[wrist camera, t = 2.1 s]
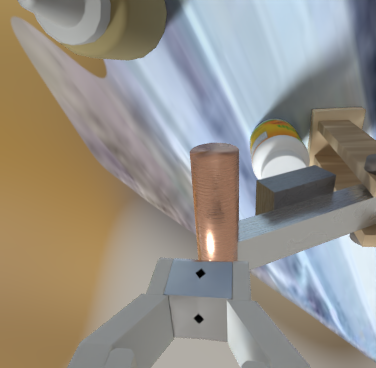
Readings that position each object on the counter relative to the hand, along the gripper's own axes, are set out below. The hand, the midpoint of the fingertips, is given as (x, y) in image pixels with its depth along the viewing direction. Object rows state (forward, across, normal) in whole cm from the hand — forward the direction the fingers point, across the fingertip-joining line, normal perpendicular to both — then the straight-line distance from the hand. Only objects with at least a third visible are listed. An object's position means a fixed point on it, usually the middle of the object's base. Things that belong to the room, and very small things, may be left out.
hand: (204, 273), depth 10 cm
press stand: (+26, -11, +4) cm, 29 cm away
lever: (+12, -4, +3) cm, 13 cm away
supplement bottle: (+27, -5, +4) cm, 28 cm away
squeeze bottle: (+26, +9, -10) cm, 30 cm away
